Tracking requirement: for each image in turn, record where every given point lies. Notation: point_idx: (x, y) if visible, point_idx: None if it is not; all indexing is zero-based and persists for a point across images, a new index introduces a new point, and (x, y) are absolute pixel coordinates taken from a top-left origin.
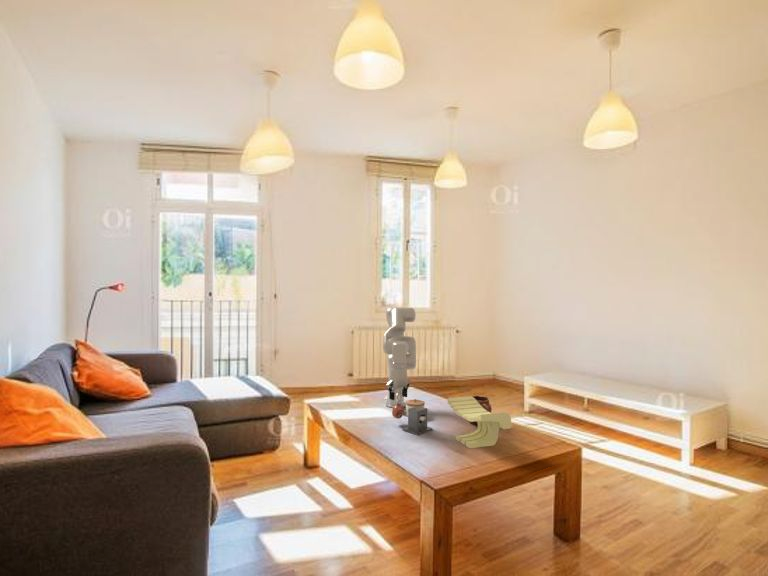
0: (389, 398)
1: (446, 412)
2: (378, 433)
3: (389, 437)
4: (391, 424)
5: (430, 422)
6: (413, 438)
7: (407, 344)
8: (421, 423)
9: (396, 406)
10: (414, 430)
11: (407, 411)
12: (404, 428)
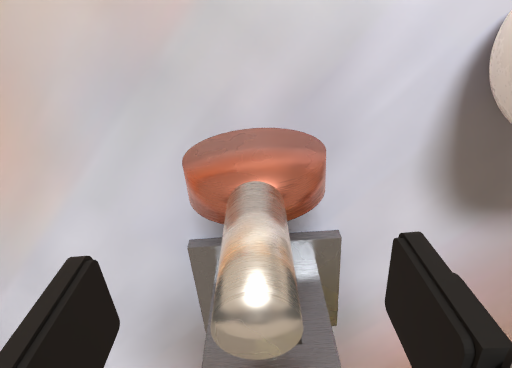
0: (69, 259)
1: None
2: (17, 200)
3: None
4: (202, 109)
5: (450, 232)
6: (163, 338)
7: None
8: None
9: (219, 209)
10: None
11: (508, 20)
12: (198, 254)
